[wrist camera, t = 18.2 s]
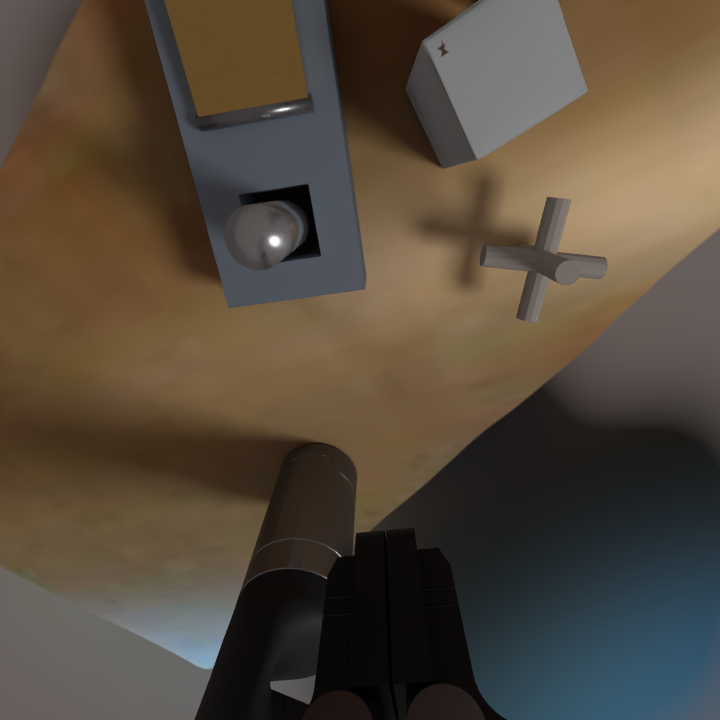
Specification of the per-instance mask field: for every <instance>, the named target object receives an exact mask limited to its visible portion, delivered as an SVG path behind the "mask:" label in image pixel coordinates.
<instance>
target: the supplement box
mask: <svg viewBox="0 0 720 720" xmlns="http://www.w3.org/2000/svg"><path fill="white" fill-rule="evenodd" d="M405 90H406V93H407V95H408V97H409V99H410V101H411V103H412V105H413V107H414V109H415V111H416V114H417V116H418V118H419V120H420V122H421V124H422V126H423V129H424V131H425V133H426V135H427V137H428V139H429V141H430V144H431V146H432V148H433V150H434V152H435V154H436V156H437V158H438V161H439V163H440V165H441V167H442V168H448V167H452V166H455V165H459V164H462V163H466V162H470V161H473V160H478V159H480V158H482V157H484V156H485V155H487V154H489V153H491V152H492V151H494V150H496V149H497V148H499V147H501V146H502V145H504V144H506V143H507V142H509V141H511V140H512V139H514V138H516V137H517V136H519V135H520V134H522V133H524V132H525V131H527V130H528V129H530V128H532V127H533V126H535V125H536V124H538V123H540V122H541V121H543V120H544V119H546V118H548V117H549V116H551V115H552V114H554V113H555V112H557V111H559V110H560V109H562V108H563V107H565V106H566V105H568V104H569V103H571V102H573V101H574V100H576V99H577V98H579V97H580V96H582V95H583V94H585V93H586V92H587V90H588V89H587V87H586V84H585V81H584V78H583V75H582V72H581V69H580V66H579V63H578V60H577V58H576V55H575V52H574V49H573V46H572V43H571V40H570V37H569V34H568V31H567V27H566V24H565V21H564V18H563V14H562V11H561V8H560V5H559V1H558V0H479V1H477V2H476V3H474V4H473V5H472V6H471V7H469V8H468V9H467V10H465V11H464V12H463V13H461V14H460V15H458V16H457V17H456V18H454V19H453V20H451V21H450V22H448V23H447V24H446V25H444V26H443V27H441V28H440V29H438V30H437V31H436V32H434V33H433V34H431V35H430V36H428V37H427V38H425V39H424V40H423V41H422V43H421V45H420V48H419V51H418V54H417V57H416V59H415V62H414V65H413V68H412V70H411V73H410V76H409V79H408V82H407V85H406V87H405Z"/></svg>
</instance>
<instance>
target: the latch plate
mask: <svg viewBox="0 0 720 720" xmlns="http://www.w3.org/2000/svg"><path fill="white" fill-rule="evenodd" d="M164 1H165V4H166V8H167V11H168V15H169V18H170V22H171V25H172V28H173V32H174V35H175V39H176V42H177V46H178V49H179V53H180V56H181V59H182V63H183V66H184V70H185V73H186V77H187V80H188V84H189V87H190V91H191V94H192V97H193V101H194V104H195V108H196V111H197V113H196V115H195V118H196V123H197V126H198V128H199V130H200V131H201V132H206V131H211V130H217V129H223V128H228V127H234V126H240V125H246V124H251V123H257V122H263V121H268V120H274V119H280V118H286V117H291V116H297V115H303V114H308V113H314V104H313V99H312V95H311V93H309V92H308V86H307V81H306V75H305V69H304V64H303V58H302V52H301V46H300V41H299V35H298V29H297V24H296V18H295V12H294V7H293V1H292V0H164Z"/></svg>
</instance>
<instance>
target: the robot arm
mask: <svg viewBox="0 0 720 720" xmlns="http://www.w3.org/2000/svg"><path fill="white" fill-rule="evenodd" d="M356 485H357V473H356V469H355V466H354V464H353V462H352V461H351V459H350V458H349V457H348V456H347V455H346V454H345V453H343V452H342V451H340V450H339V449H337V448H335V447H332V446H329V445H324V444H309V445H304V446H301V447H299V448H296V449H295V450H293V451H292V452H291V453H290V454H289V455H288V456H287V457H286V458H285V460H284V462H283V463H282V466H281V469H280V472H279V475H278V478H277V481H276V484H275V487H274V490H273V493H272V496H271V499H270V502H269V505H268V508H267V511H266V514H265V517H264V521H263V524H262V527H261V530H260V533H259V536H258V539H257V542H256V545H255V548H254V551H253V554H252V557H251V560H250V563H249V567H248V570H247V573H246V576H245V579H244V582H243V585H242V588H241V591H240V594H239V597H238V600H237V604H236V607H235V610H234V612H233V615H232V618H231V621H230V623H229V626H228V629H227V631H226V634H225V637H224V639H223V642H222V645H221V648H220V651H219V653H218V656H217V659H216V662H215V665H214V668H213V671H212V674H211V677H210V680H209V682H208V685H207V688H206V690H205V693H204V696H203V699H202V701H201V704H200V706H199V709H198V712H197V714H196V717H195V720H506V719H505V718H503V717H502V716H500V715H499V714H498V713H496V712H495V711H494V710H493V709H492V708H491V707H490V706H489V705H488V704H487V702H486V701H485V700H484V698H483V697H482V695H481V694H480V692H479V690H478V687H477V685H476V683H475V679H474V676H473V671H472V666H471V661H470V657H469V652H468V647H467V643H466V638H465V633H464V628H463V623H462V619H461V614H460V609H459V605H458V599H457V595H456V590H455V585H454V581H453V575H452V571H451V566H450V564H449V562H448V561H447V560H446V558H445V557H444V555H443V554H442V553H441V551H440V550H439V548H430V549H419V550H417V545H416V537H415V530H414V528H402V529H392V530H386V535H385V531H384V530H383V531H372V532H362V533H356V541H355V556H353V538H354V520H355V503H356ZM386 539H387V541H386ZM313 675H316V680H315V688H314V693H313V696H312V700H311V702H310V705H308V704H305V703H303V702H301V701H299V700H296V699H294V698H291V697H289V696H286V695H284V694H281V693H279V692H276V691H274V690H272V689H271V688H270V682H271V681H279V680H293V679H301V678H306V677H310V676H313Z"/></svg>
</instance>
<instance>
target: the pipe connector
mask: <svg viewBox="0 0 720 720" xmlns="http://www.w3.org/2000/svg"><path fill="white" fill-rule="evenodd" d="M570 203H571V200H570V199H562V198H552V197H547V199H546V203H545V207H544V211H543V215H542V219H541V222H540V226H539V230H538V234H537V238H536V242H535V246H532V245H529V244H526V243H522V244H519V245H517V246H516V247H507V246H498V245H489V244H485V245H484V246H483V248H482V251H481V255H480V265H481V266H484V267H493V268H502V269H512V270H521V271H528V273H527V277H526V281H525V285H524V289H523V293H522V296H521V300H520V304H519V308H518V312H517V316H516V317H517V318H518V319H520V320H523V321H528V322H537V321H538V318H539V314H540V311H541V307H542V303H543V300H544V296H545V293H546V289H547V285H548V282H549V278H550V279H551V280H553V281H555V282H557V283H559V284H561V285H570V284H572V283H574V282H575V281H577V279H578V278H579V277H584V278H594V279H601V278H602V277H603V276H604V274H605V272H606V270H607V265H608V264H607V259H606V258H605V257H598V256H589V255H579V254H570V253H561V252H557V250H558V246H559V242H560V239H561V235H562V232H563V228H564V224H565V221H566V217H567V214H568V210H569V206H570Z"/></svg>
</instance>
